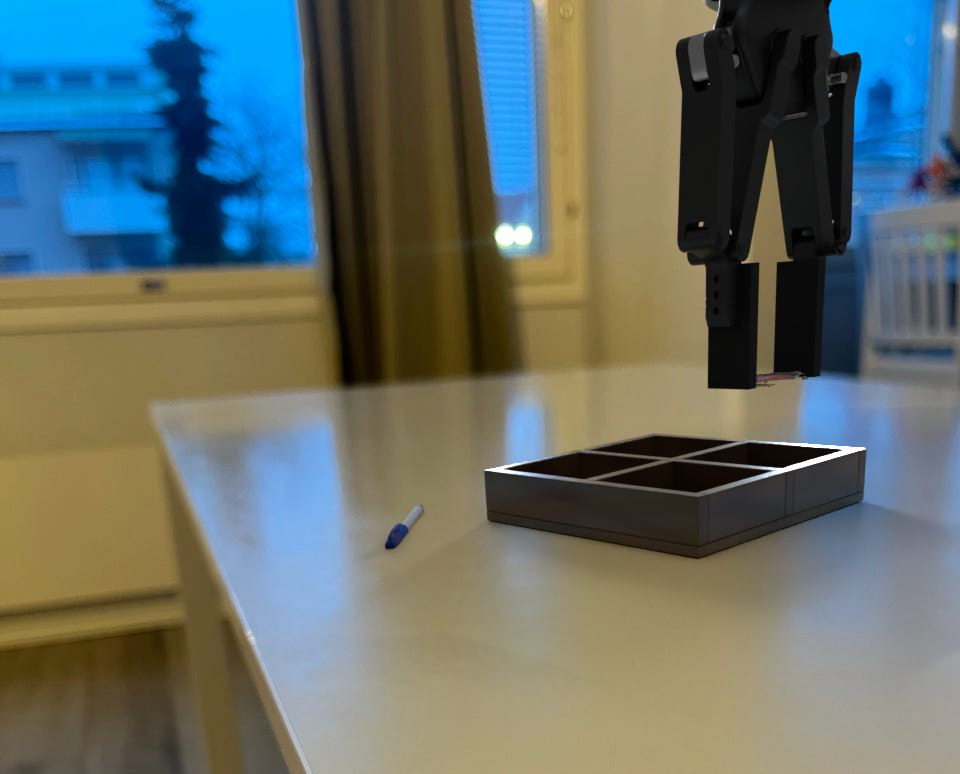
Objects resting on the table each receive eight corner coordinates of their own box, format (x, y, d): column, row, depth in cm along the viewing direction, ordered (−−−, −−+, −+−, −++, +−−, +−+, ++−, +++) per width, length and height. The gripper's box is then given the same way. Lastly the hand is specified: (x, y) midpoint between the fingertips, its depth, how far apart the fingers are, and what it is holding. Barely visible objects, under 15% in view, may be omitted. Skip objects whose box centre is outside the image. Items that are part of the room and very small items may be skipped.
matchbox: (715, 382, 60) (715, 373, 59) (803, 377, 59) (804, 369, 59) (723, 389, 55) (724, 380, 55) (819, 385, 55) (819, 376, 54)
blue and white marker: (399, 552, 56) (397, 535, 56) (384, 553, 56) (382, 536, 56) (425, 512, 66) (424, 497, 65) (412, 513, 66) (410, 498, 66)
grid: (653, 476, 71) (653, 433, 70) (863, 500, 59) (866, 448, 58) (486, 520, 61) (483, 470, 60) (698, 558, 49) (698, 497, 48)
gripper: (813, -43, 58) (797, 365, 66) (595, -103, 47) (607, 399, 54) (940, -84, 52) (907, 366, 60) (729, -164, 41) (721, 404, 49)
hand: (765, 381), depth 57 cm, fingers closed on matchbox, 6 cm apart
